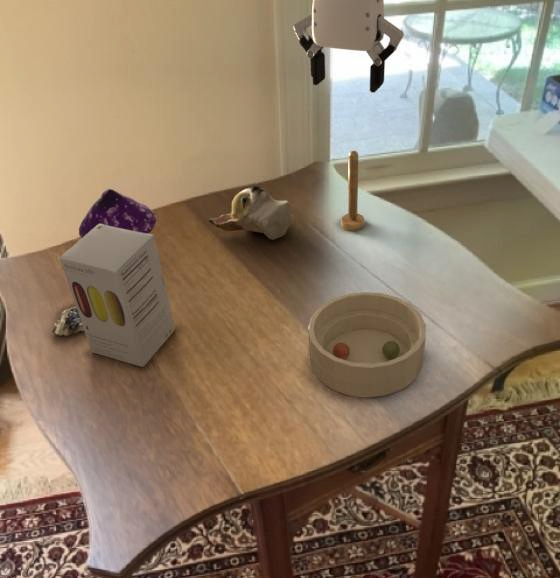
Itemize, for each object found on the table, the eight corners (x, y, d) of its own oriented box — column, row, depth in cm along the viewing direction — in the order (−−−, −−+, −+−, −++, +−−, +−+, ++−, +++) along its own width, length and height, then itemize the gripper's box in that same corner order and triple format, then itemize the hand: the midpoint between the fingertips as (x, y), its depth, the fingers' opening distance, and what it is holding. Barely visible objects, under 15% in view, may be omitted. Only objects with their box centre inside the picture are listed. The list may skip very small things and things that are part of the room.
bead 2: (402, 355, 91) (403, 342, 89) (391, 364, 90) (392, 351, 88) (389, 348, 92) (390, 335, 91) (378, 356, 91) (378, 343, 89)
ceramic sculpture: (269, 208, 106) (199, 191, 113) (275, 254, 111) (208, 236, 119) (305, 180, 112) (237, 166, 119) (309, 225, 117) (244, 209, 125)
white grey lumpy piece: (55, 344, 99) (51, 334, 97) (48, 313, 104) (44, 304, 103) (99, 331, 100) (96, 321, 99) (90, 301, 106) (87, 292, 104)
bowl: (444, 357, 91) (449, 324, 87) (371, 418, 84) (372, 385, 80) (361, 311, 99) (361, 278, 95) (287, 362, 92) (285, 329, 88)
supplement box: (90, 353, 97) (55, 257, 85) (124, 315, 103) (96, 221, 91) (144, 368, 93) (116, 271, 82) (177, 329, 99) (155, 232, 88)
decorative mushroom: (142, 241, 118) (122, 163, 107) (181, 269, 110) (164, 188, 100) (80, 270, 112) (53, 191, 102) (116, 302, 105) (91, 220, 95)
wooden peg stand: (368, 224, 117) (370, 150, 107) (353, 233, 115) (354, 159, 105) (351, 216, 119) (352, 143, 109) (336, 225, 117) (336, 152, 108)
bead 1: (353, 357, 91) (353, 344, 90) (341, 366, 90) (341, 353, 89) (340, 349, 93) (340, 336, 91) (329, 358, 92) (328, 345, 90)
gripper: (415, -45, 90) (407, 83, 102) (303, -49, 97) (308, 71, 109) (396, -30, 86) (390, 101, 97) (279, -36, 92) (287, 88, 104)
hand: (346, 85), depth 103 cm, fingers open, 9 cm apart
